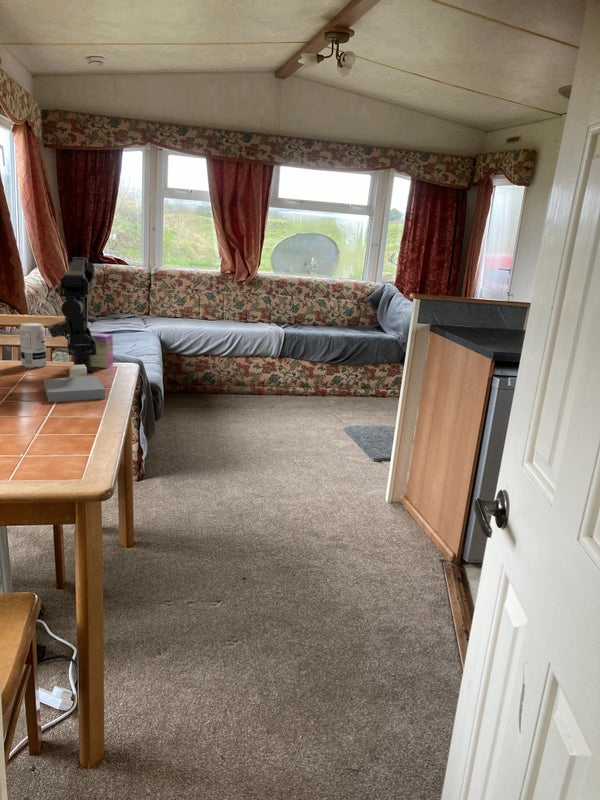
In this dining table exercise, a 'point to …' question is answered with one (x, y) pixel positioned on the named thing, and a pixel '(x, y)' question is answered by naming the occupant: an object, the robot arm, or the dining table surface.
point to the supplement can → (32, 345)
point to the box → (102, 350)
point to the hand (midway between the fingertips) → (77, 360)
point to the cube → (77, 371)
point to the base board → (73, 389)
